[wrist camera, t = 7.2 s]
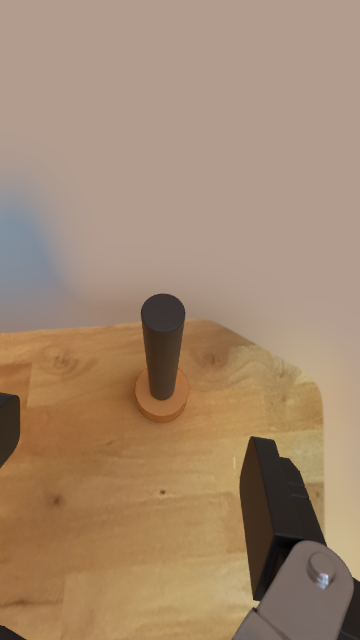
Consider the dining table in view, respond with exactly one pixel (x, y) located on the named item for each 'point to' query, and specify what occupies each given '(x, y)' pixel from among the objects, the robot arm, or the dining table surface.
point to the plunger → (162, 360)
